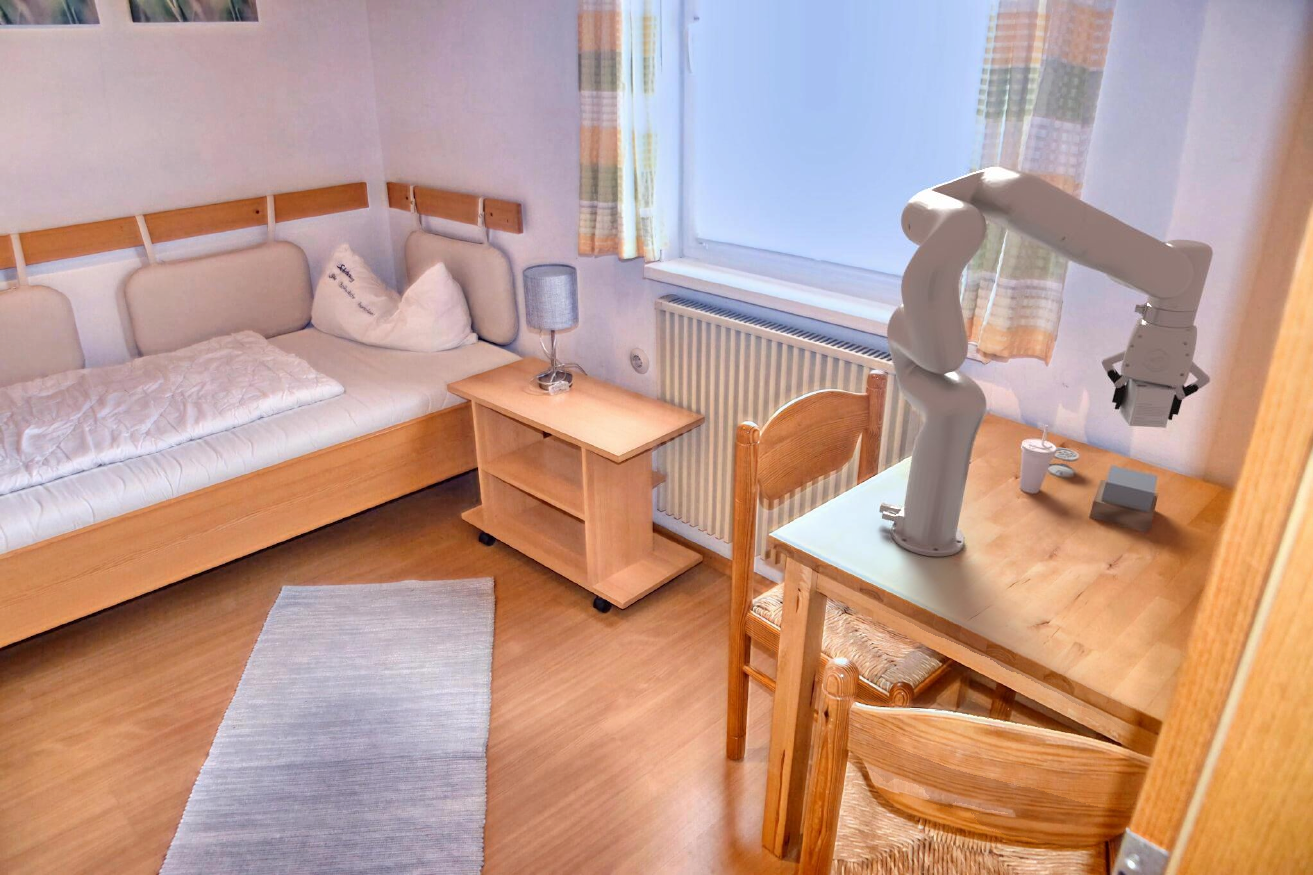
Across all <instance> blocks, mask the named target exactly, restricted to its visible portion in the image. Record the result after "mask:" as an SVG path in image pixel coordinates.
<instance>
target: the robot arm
mask: <svg viewBox="0 0 1313 875" xmlns="http://www.w3.org/2000/svg"><path fill="white" fill-rule="evenodd" d="M900 218H901V219H900V224H901V226H900V227H901V229H902V232H903V234H904V235H905V236H906V238H908V240H909V241H911V242H912V243H913V244H915V245H917V246H919V247H918V248H917V250H915V252H914V254H913V255H912V257H911V259H910V260H909V263H908V264H907V266H906V268H905V269H904V272H903V274H902V278H901V285H900V287H901V288H900V291H901V300H902V304H900V305H899V306H898V307H897V308H896V309H895V310H894V311H893V313H891V316H890V318H889V321H888V324H887V330H886V335H887V336H886V337H887V344H888V348H889V353H890V357H891V361H892V365H893V369H894V375H895V378H896V382H897V385H898V388H899V391H900V393H901V395H902V396H903V398H904V399H905V400H906V402H908V403H909V404H910V405H911V406H912V407H913V408H915V409H916V410H917V411H918V413H920V414H921V415H922V416H923V419H924V421H923V425H922V428H921V429H920V430H919V432H918V433H917V436H916V437H915V440H914V444H913V447H912V453H911V458H910V459H911V462H910V467H909V473H908V474H909V475H908V480H907V487H906V492H905V499H904V504H903V505H904V506H902V505H899V506H895V505H892V504H889V503H886V502H884V501H882V502H881V504H880V505H879V513H880V514H881V519H883V520H887V521H891V522H893V523H892V525H891V530H890V535H891V536H892V539H893V540H894V542H895V543H896V544H898V545H899V546H900V547H902V548H903V549H905V550H907V551H910V552H912V553H913V554H914V553H915V554H917V555H922V556H927V557H948V556H952V555H954V554H957V553H959V552H960V551H961V550H962V549H963V547H964V544H965V535H964V533H963V532H962V530H960V529H959V528H958V526H959V520H960V516H961V510H962V506H963V501H964V500H963V499H964V495H965V490H966V486H967V478H968V473H969V469H970V464H971V458H972V453H973V449H974V446H975V441H976V438H977V435H978V433H979V431H980V428H981V425H982V423H983V421H984V418H985V415H986V412H987V399H986V395H985V393H984V392H983V390H982V388H981V387H980V385H979V384H978V383H977V382H976V381H975V380H974V379H973V378H971V377H970V376H969V375H967V374H965V373H964V372H963V371H961V370H960V368H961V367H962V366H963V364H964V363H965V362H966V359H967V356H968V353H969V343H968V342H969V340H968V335H967V334H968V333H967V330H966V329H967V328H966V324H965V319H964V315H963V311H962V309H963V308H962V304H961V300H960V298H961V297H960V291H959V290H960V287H959V284H960V278H961V276H962V273H963V271H964V269H965V268H966V267H967V265H968V264H969V263H970V261H971V260H972V259H973V258H974V257H975V255H977V253H978V252H979V250H980V249H981V247H982V246H983V244H984V242H985V239H986V235H987V232H988V231H987V229H988V228H987V227H988V224H987V222H988V223H991V224H994V225H996V226H998V227H1002V228H1003V229H1006V230H1007V231H1010V232H1011V233H1014V234H1016V235H1017V236H1020V237H1022V238H1024V239H1026V240H1027V241H1030V242H1032V243H1033V244H1035V245H1038V246H1039V247H1042V248H1044V249H1045V250H1047V251H1048V252H1050V253H1051V252H1052V253H1053V254H1054V255H1057V256H1058V257H1061V258H1064V259H1065V260H1068V261H1070V262H1072V263H1074V264H1077V265H1079V266H1082V267H1084V268H1085V267H1086V268H1088V269H1090V270H1094V271H1097V272H1100V273H1103V274H1105V275H1106V277H1108V278H1109V279H1110V280H1111V281H1113V282H1115V283H1116V284H1118V285H1121V286H1123V287H1126V288H1128V289H1131V290H1134V291H1137V292H1138V293H1141V294H1144V295H1145V296H1147V299H1146V303H1145V302H1144V304H1142V303H1141V304H1135V309H1134V313H1138V314H1140V315H1141V316H1142V317H1139V318H1138V319H1137V320H1136V322H1135V324H1134V326H1133V328H1132V331H1131V333H1130V335H1129V338H1128V341H1127V345H1126V346H1125V347H1126V348H1125V350H1123V351H1120V352H1118V353H1115V354H1113V355H1110V356H1108V357H1105V358H1103V359H1102V361H1101V364H1102V367H1103V369H1104V371H1105V372H1106V375H1107V377H1108V378H1109V379H1110V380H1111V382H1112V383H1113V384H1114V387H1115V389H1114V393H1113V395H1112V396H1113V397H1112V400H1111V403H1113V404H1115V405H1114V410H1120V406H1121V402H1122V398H1123V395H1124V391H1125V387H1126V382H1127V381H1128V380H1129V379H1133V380H1138V381H1144V382H1149V383H1155V384H1160V385H1166V386H1172V387H1173V388H1174V389H1175V390H1176V392H1175V395H1174V399H1173V402H1172V406H1171V409H1170V413H1169V417H1168V420H1169V421H1173V417H1174V415H1176V416H1178V415H1179V413H1180V409H1181V406H1182V401H1183V400H1184V399H1185V398H1187V397H1188V396H1191V395H1193V394H1195V393H1196V392H1198V390H1200V389H1202V388H1204V387H1205V386H1206V385H1208V384H1209V383H1210V382H1211V377H1210V376H1209V375H1208V374H1207V373H1206V372H1205V371H1204V370H1203V369H1201V368H1200V367H1199V366H1198V365H1197V364H1196V363H1195V362H1194V355H1195V351H1196V347H1197V346H1196V345H1197V340H1198V339H1197V338H1198V328H1197V326H1196V325H1194V323H1195V320H1196V317H1197V313H1198V309H1199V306H1200V302H1201V299H1202V295H1203V292H1204V288H1205V284H1206V281H1207V277H1208V275H1209V274H1208V273H1209V269H1210V267H1211V262H1212V260H1213V259H1212V258H1213V256H1214V255H1213V249H1212V247H1211V246H1210V245H1209V244H1208V243H1205V242H1202V241H1196V240H1191V239H1190V240H1189V239H1171V240H1168V241H1161V240H1160V239H1158V238H1156V237H1154V236H1152V235H1149V234H1147V233H1145V232H1143V231H1142V230H1140V229H1137V228H1135V227H1133V226H1131V225H1129V224H1127V223H1126V222H1123V221H1122V220H1119V219H1118V218H1116V217H1114V216H1113V215H1111V214H1109V213H1107V212H1105V211H1104V210H1101V209H1098V208H1097V207H1095V206H1093V205H1092V204H1088V203H1087V202H1085V201H1083V200H1081V199H1079V198H1077V197H1076V196H1074V195H1072V194H1071V193H1069V192H1067V191H1064V190H1063V189H1062V188H1060V187H1057V186H1056V185H1054V184H1053V183H1050V182H1049V181H1046V180H1045V179H1043V178H1041V177H1039V176H1037V175H1034V174H1031V173H1029V172H1025V171H1021V170H1017V169H1012V168H1009V167H1006V166H995V167H994V166H993V167H989V168H985V169H982V170H979V171H976V172H972V173H969V174H967V175H964V176H961V177H958V178H956V179H953V180H951V181H950V180H949V181H947V182H943V183H942V184H938V185H936V186H933V187H931V188H928V189H925V190H923V191H920V192H918V193H917V194H916V195H914V196H912V198H910V199H909V200H908V202H907V203H906V204H905V206H904V209H903V210H902V213H901V216H900ZM1120 362H1121V366H1120V373H1119V372H1118V371H1117V369H1116V368H1115V367H1114V365H1115V364H1117V363H1120ZM1190 373H1191V374H1192V376H1194V377H1195V378H1196V380H1195V381H1194V382H1192V383H1190V384H1188V385H1186V386H1185V384H1186V383H1187V381H1188V379H1189V376H1190Z"/></svg>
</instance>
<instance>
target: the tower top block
mask: <svg viewBox="0 0 1313 875" xmlns="http://www.w3.org/2000/svg"><path fill="white" fill-rule="evenodd" d="M1157 480H1158V475H1156V474H1152V473H1147V472H1143V471H1139V470H1134V469H1131V468H1126V467H1122V466H1121V467H1120V466H1116V465H1114V464H1113V465H1111V464H1110V467H1109V470H1108V474H1107V477H1106V480H1105V481H1106V484H1105V488H1104V491H1103V495H1102V499H1101V501H1105V502H1109V503H1113V504H1117V505H1121V506H1125V507H1129V508H1133V509H1138V510H1142V511H1146V512H1149V510H1150V507H1151V503H1152V500H1153V497H1154V493H1156V488H1157V482H1158V481H1157Z"/></svg>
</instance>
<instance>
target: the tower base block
mask: <svg viewBox="0 0 1313 875" xmlns="http://www.w3.org/2000/svg"><path fill="white" fill-rule="evenodd" d="M1105 484H1106V480H1103V479H1101V480H1100V481H1099V484H1098V487H1097V490H1096V492H1095V493H1096V494H1095V496H1094V498H1093V500H1092V501H1093V502H1092V505H1091V509H1090V513H1089V517H1088V518H1091V519H1094V520H1098V521H1103V522H1106V523H1109V524H1114V525H1118V526H1121V527H1125V528H1129V529H1132V530H1136V531H1140V532H1144V533H1147V534H1148V533H1149V532H1150V528H1151V525H1152V521H1153V519H1154V516H1155V509H1156V507H1157V506H1156V505H1157V502H1158V501H1157V500H1158V497H1159V493H1156V492H1155V493H1154V497H1153V500H1152V503H1151V507H1150V510H1149V512H1146V511H1142V510H1138V509H1133V508H1129V507H1125V506H1121V505H1117V504H1113V503H1109V502H1105V501H1101V499H1102V495H1103V491H1104V488H1105Z"/></svg>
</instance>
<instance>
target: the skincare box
mask: <svg viewBox="0 0 1313 875" xmlns="http://www.w3.org/2000/svg"><path fill="white" fill-rule="evenodd" d="M1125 385H1126V387H1125V391H1124V395H1123V398H1122V402H1121V406H1120V408H1119V409H1118V410H1119V411H1118V413H1119V415H1120V416H1121V417H1122V419H1124V421H1125V422H1126V423H1127V425H1128V426H1130V427H1141V428H1142V427H1146V428H1147V427H1148V428H1164V429H1166V428H1167V424H1168V417H1169V413H1170V409H1171V406H1172V402H1173V399H1174V395H1175V394H1176V393H1175V392H1176V390H1175V389H1174V388H1173V386H1166V385H1160V384H1155V383H1149V382H1144V381H1138V380H1133V379H1129V380H1128V381H1127V382H1126V383H1125Z"/></svg>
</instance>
